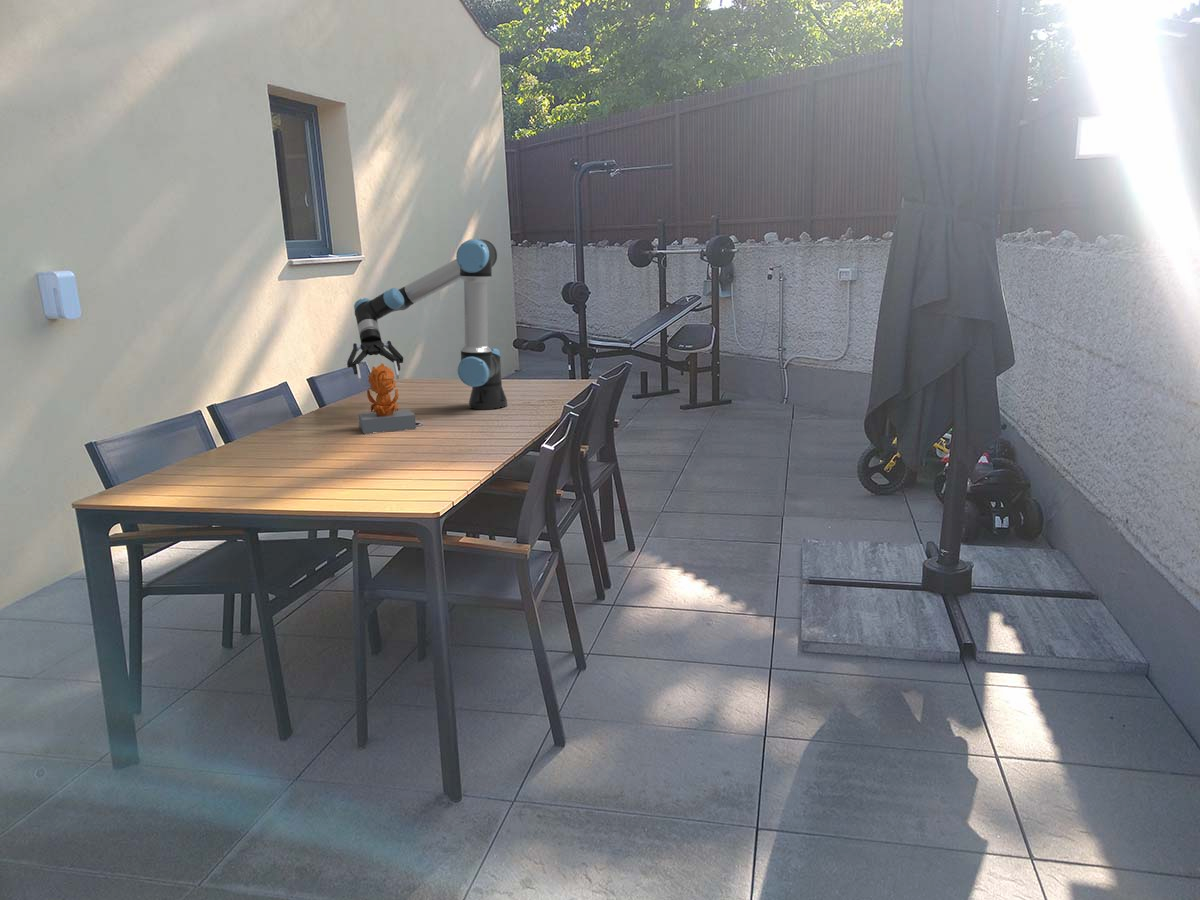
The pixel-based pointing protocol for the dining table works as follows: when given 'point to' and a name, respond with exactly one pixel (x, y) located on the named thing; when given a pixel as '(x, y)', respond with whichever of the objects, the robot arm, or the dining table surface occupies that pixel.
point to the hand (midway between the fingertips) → (379, 378)
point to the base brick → (387, 421)
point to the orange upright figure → (382, 391)
